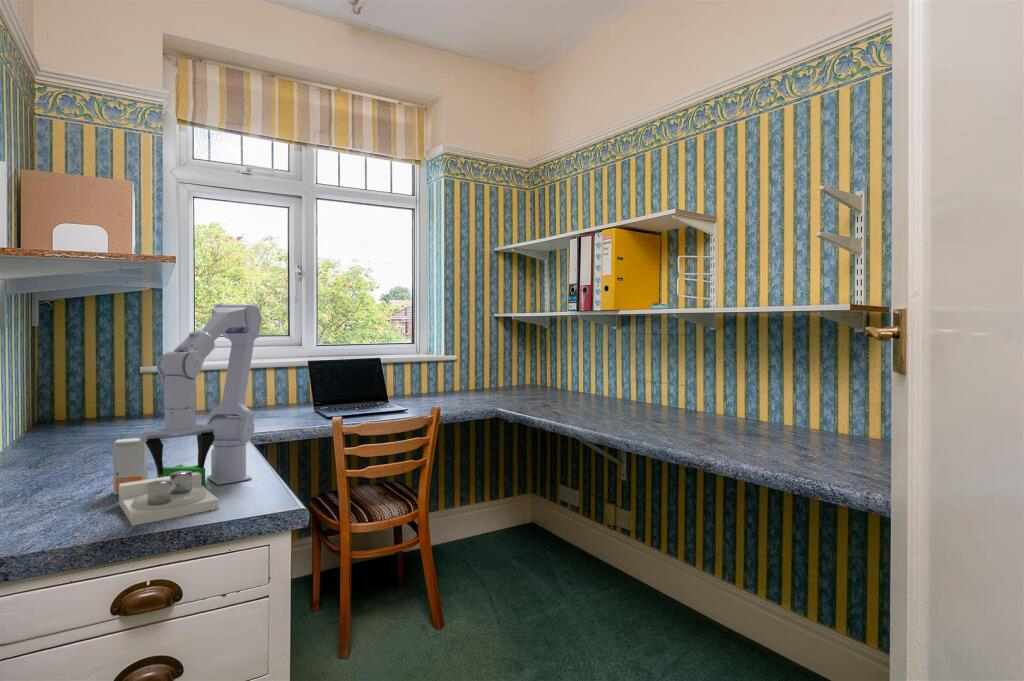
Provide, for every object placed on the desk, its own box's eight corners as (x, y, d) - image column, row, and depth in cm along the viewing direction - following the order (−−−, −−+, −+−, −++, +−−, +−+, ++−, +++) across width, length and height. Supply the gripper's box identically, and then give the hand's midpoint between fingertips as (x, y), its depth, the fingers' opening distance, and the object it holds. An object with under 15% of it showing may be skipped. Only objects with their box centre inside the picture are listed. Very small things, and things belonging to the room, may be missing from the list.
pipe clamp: (212, 484, 136) (212, 465, 135) (202, 488, 132) (202, 469, 132) (167, 482, 136) (168, 463, 136) (157, 486, 133) (157, 467, 132)
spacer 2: (167, 491, 119) (167, 473, 119) (188, 487, 122) (188, 469, 122) (173, 495, 116) (172, 476, 116) (194, 491, 119) (194, 473, 119)
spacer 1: (145, 502, 112) (145, 482, 112) (168, 498, 114) (168, 478, 114) (149, 507, 109) (149, 486, 109) (173, 502, 112) (172, 482, 111)
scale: (119, 504, 118) (118, 483, 118) (198, 491, 128) (197, 471, 128) (132, 525, 106) (132, 502, 106) (218, 509, 116) (218, 487, 116)
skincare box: (112, 495, 125) (112, 442, 125) (117, 490, 129) (117, 438, 129) (144, 492, 127) (144, 440, 127) (148, 487, 131) (148, 437, 131)
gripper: (143, 413, 111) (144, 480, 112) (222, 406, 121) (223, 468, 121) (137, 409, 117) (138, 473, 117) (213, 403, 126) (214, 462, 127)
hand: (180, 470), depth 119 cm, fingers open, 7 cm apart
